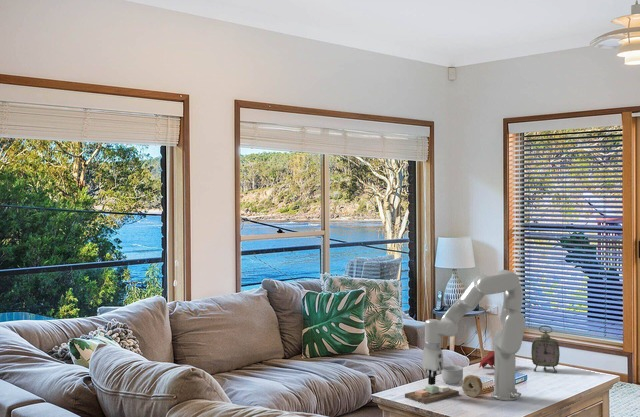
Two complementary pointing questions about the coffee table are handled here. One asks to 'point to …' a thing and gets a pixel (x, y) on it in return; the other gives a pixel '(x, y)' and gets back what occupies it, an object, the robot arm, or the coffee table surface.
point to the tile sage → (432, 389)
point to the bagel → (469, 388)
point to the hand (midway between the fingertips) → (431, 384)
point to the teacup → (452, 374)
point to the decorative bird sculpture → (488, 360)
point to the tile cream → (443, 388)
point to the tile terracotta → (421, 393)
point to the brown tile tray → (432, 396)
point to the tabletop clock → (545, 351)
